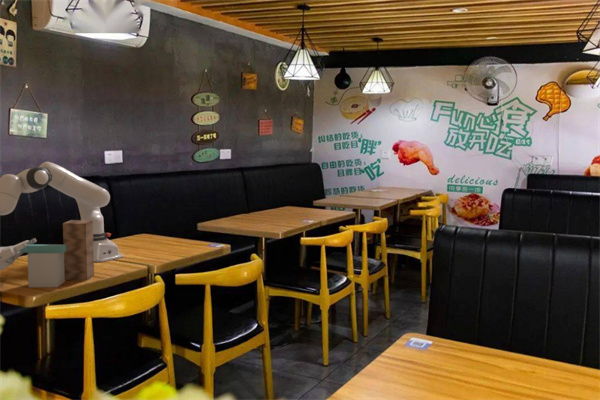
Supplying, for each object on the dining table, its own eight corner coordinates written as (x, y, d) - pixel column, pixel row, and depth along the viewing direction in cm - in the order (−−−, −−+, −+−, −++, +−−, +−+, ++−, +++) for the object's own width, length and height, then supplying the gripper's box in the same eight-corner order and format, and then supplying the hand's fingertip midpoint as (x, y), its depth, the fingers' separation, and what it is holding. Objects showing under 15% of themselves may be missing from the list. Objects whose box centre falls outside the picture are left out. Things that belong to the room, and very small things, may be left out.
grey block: (28, 287, 239) (27, 254, 238) (37, 281, 248) (36, 249, 247) (57, 287, 240) (56, 254, 239) (64, 281, 249) (63, 249, 248)
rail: (20, 252, 240) (20, 245, 240) (24, 251, 244) (23, 244, 243) (63, 252, 241) (63, 245, 241) (66, 251, 245) (66, 244, 245)
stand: (64, 280, 252) (62, 223, 249) (72, 275, 261) (70, 220, 259) (87, 280, 252) (85, 223, 249) (94, 275, 262) (92, 220, 259)
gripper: (-13, 256, 231) (16, 239, 231) (9, 246, 251) (36, 231, 251) (-5, 269, 232) (24, 252, 232) (17, 258, 252) (44, 243, 252)
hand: (31, 241), depth 242 cm, fingers open, 8 cm apart
